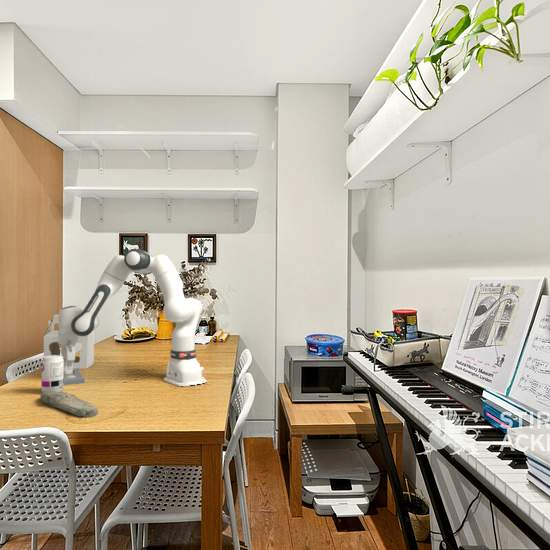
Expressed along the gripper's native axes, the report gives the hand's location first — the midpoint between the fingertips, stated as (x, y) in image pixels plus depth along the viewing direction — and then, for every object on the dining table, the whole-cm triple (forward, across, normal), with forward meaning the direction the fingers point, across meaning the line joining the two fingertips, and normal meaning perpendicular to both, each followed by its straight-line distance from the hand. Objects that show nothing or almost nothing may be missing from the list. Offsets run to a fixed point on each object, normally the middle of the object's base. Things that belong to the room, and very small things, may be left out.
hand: (67, 367), depth 207 cm
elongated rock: (+5, -50, +6) cm, 50 cm away
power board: (+4, -5, 0) cm, 7 cm away
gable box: (+5, +24, -4) cm, 25 cm away
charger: (+4, 0, 0) cm, 4 cm away
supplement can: (+5, -25, +9) cm, 27 cm away
